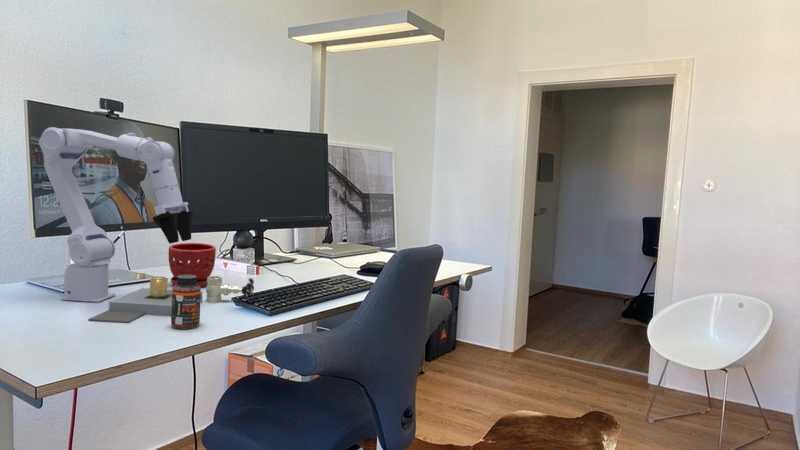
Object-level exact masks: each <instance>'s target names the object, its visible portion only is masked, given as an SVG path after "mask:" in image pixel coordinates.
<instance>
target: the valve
mask: <svg viewBox="0 0 800 450" xmlns="http://www.w3.org/2000/svg"><path fill="white" fill-rule="evenodd" d="M254 282H255V280H254V279H253V278H252V277H251V278H249V277H248V282H247V284H245V285H244V286H242V287H239V286H233V287H232V286H230V283H229V284H228V283H225V284H223V278H222V276H220V275H219V276H218V275H212V276H211V275H210V277H207V283H208V285H206V287H205V293H206V302H207V303H210V304H212V303H214V304H216V303H220V302H222V295H223V296H229V294H231V293H233V294H240V293H241V294H242V295H243V297H244V296H245V295H246V296H248V295H251V294H253V295H254V290H255V285H254V284H255V283H254ZM222 284H223V285H222Z"/></svg>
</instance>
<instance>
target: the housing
mask: <svg viewBox="0 0 800 450" xmlns="http://www.w3.org/2000/svg"><path fill="white" fill-rule="evenodd" d="M202 301H203V291H201V299H200V303H201V302H202ZM108 303H109V304H108V310H109V311H121V312H138V313H145V315H147V316H148V315H149V316H164V317H166V316H167V317H171V310H172V289H167V298H166V299H150V287H149V288H148V287H147V288H145V287H141V288H139V289H137V290H134V291H132V292H130V293H127V294H125V295H123V296H121V297H118V298H116V299H114V300H111V301H109V302H108ZM145 315H144V316H145Z"/></svg>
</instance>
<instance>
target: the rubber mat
mask: <svg viewBox="0 0 800 450" xmlns="http://www.w3.org/2000/svg"><path fill="white" fill-rule="evenodd" d="M143 316H145V313H138V312H121V311H109V309H108V310H105V311H103V312H101V313H99V314H97V315H94V316H92V317H90V318H88V319H87V320H88V322H103V323H116V324H117V323H118V324H119V323H121V324H129V323H132V322H133V321H135V320H137V319H140V318H141V317H143Z"/></svg>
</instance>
